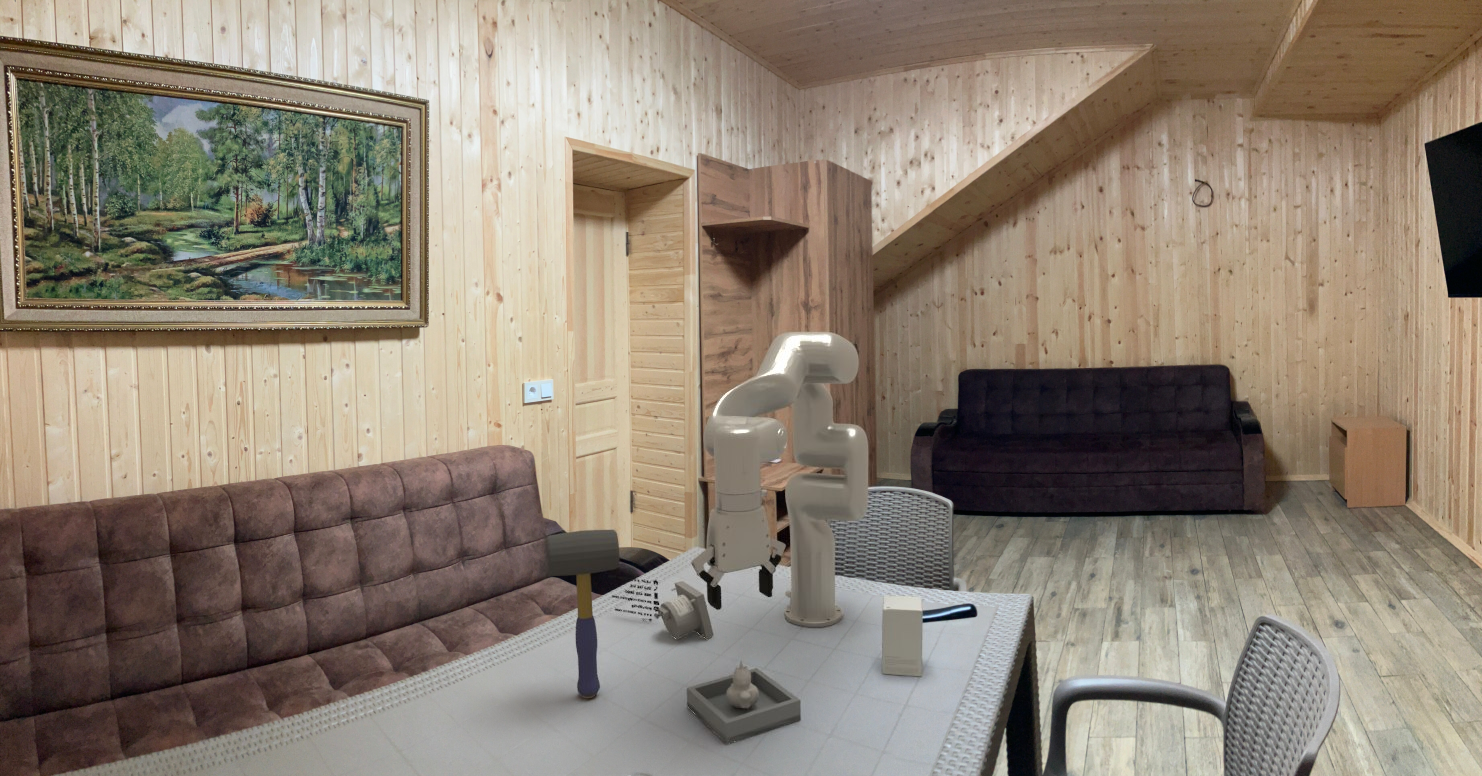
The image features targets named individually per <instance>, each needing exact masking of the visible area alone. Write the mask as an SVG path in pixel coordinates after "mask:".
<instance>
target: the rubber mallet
mask: <svg viewBox="0 0 1482 776" xmlns="http://www.w3.org/2000/svg"><path fill="white" fill-rule="evenodd" d="M619 544H620V543H619V535H618V533H617V531H616V530H615V529H590V530H589V529H588V530H587V529H586V530H576V531H571V532H570V531H569V532H562V533H557V534H552V535H550V534H549V535H548V536H546V538H545V561H546V568H547V574H548V575H549V576H551V577H556V576H557V577H560V576H563V577H564V576H576V595H577V596H576V599H577V600H576V601H577V604H576V605H577V617H576V622H575V649H576V654H577V666H578V668H577V669H578V671H577V672H578V678H577V684H576V688H577V689H576V690H577V692H578V694H579V696H580V697H581V698H583V699H593V698H595V697H596V696H597V695H598V693H599V691H600V688H601V684H600V680H599V677H598V663H597V662H598V661H597V655H598V653H597V652H598V634H597V625H596V620H595V617H594V615H593V598H592V597H593V596H592V595H593V594H592V583H591V582H592V580H591V579H592V577H591V574H595V573H600V572H607V571H611V570H617V569H618V567H619V566H620V546H619ZM595 695H596V696H595ZM594 696H595V697H594Z"/></svg>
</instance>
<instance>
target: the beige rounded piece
mask: <svg viewBox="0 0 1482 776" xmlns="http://www.w3.org/2000/svg"><path fill="white" fill-rule="evenodd" d="M749 670H750V669H749V668H748V666H746V665H745V666H744V665H743V662H742V660H740V663H739V667H738V666H736V668H735V670H734V671H733V673H732V675H733V683H732V684H731V686H730V687H729V688H728V689H727V692H726V696H727V700H728V703H729V704H730V705H731V706H734V707H736V708H749V707H750V706H751V705H753V704H754V703H756V702H757V701H758V699H759V691H758V689H757V687H756V686H755V685H753V684H752V683H751V673H750V671H749Z"/></svg>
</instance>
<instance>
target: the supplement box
mask: <svg viewBox="0 0 1482 776" xmlns="http://www.w3.org/2000/svg"><path fill="white" fill-rule="evenodd" d="M923 615H924V613H923V599H922V597H921V596H905V595H904V596H902V595H883V597H882V614H881V618H882V622H881V625H882V626H881V630H882V631H881V634H882V635H881V637H882V638H881V640H882V641H881V671H882V672H881V673H882V674H883V675H893V676H894V675H895V676H907V677H908V676H909V677H922V675H923V626H924V624H923V623H924V621H923Z"/></svg>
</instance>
